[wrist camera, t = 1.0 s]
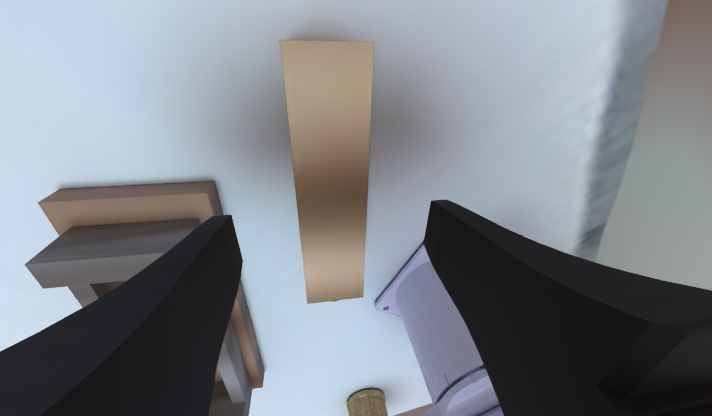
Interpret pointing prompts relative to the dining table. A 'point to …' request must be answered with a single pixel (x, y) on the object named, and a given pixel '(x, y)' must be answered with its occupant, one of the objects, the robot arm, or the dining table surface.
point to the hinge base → (143, 262)
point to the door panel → (330, 159)
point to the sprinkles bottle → (367, 403)
